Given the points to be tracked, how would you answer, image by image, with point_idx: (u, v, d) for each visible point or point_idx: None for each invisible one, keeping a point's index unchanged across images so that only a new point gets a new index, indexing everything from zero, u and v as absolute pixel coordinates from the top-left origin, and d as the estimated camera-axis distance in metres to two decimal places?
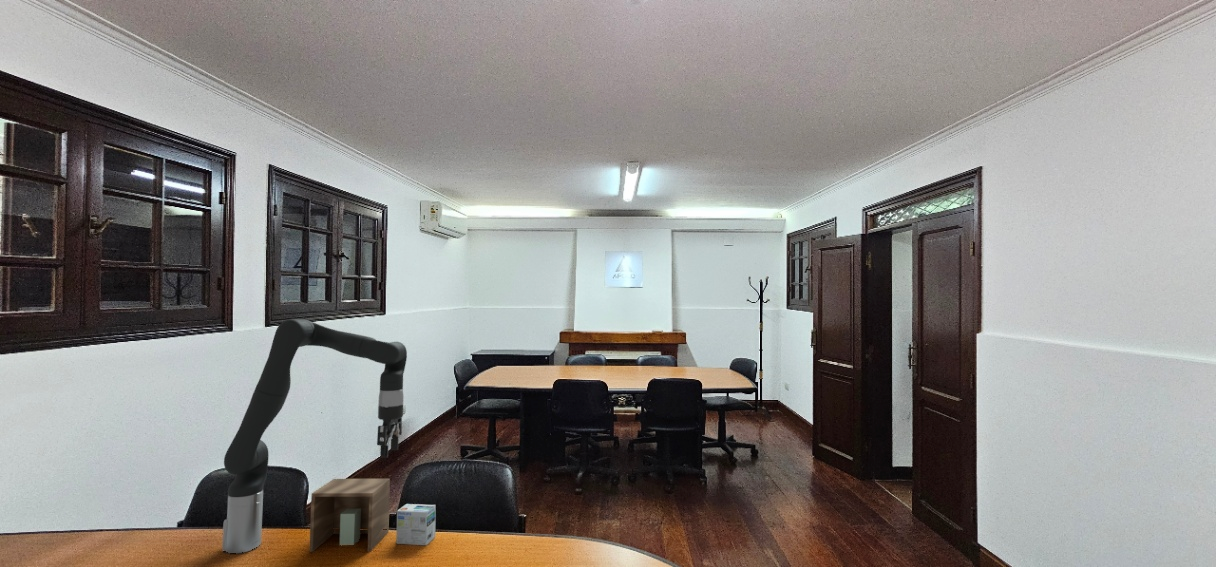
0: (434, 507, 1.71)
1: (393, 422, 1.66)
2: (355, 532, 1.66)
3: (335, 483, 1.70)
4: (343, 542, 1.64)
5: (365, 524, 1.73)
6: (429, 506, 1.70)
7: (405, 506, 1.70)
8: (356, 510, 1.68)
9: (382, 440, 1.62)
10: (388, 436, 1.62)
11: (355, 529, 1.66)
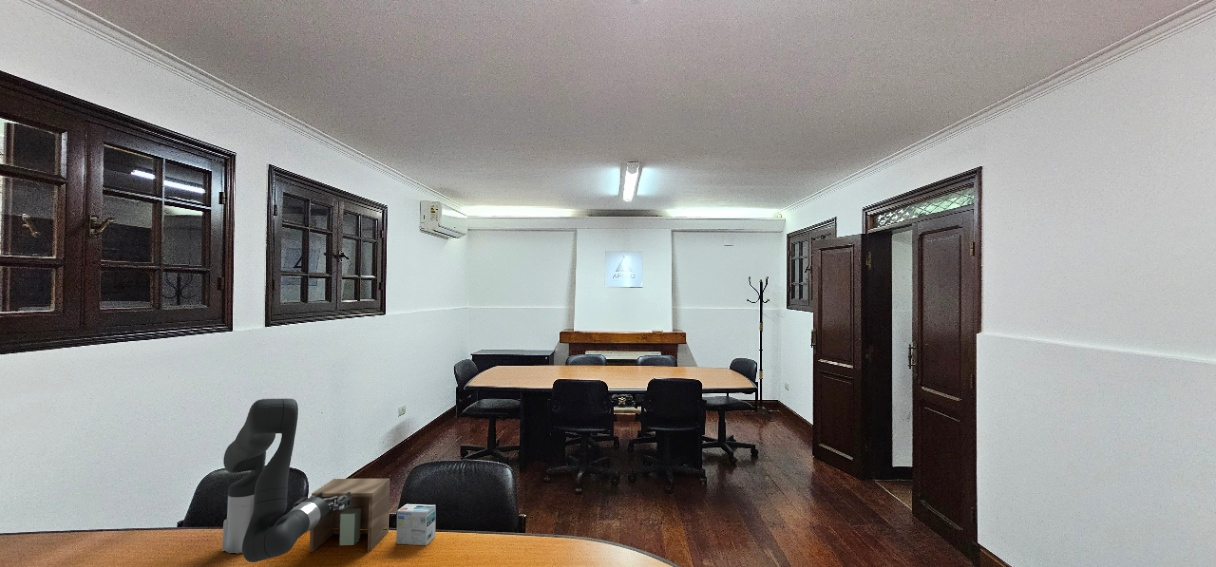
0: (434, 507, 1.71)
1: None
2: (355, 532, 1.66)
3: (335, 483, 1.70)
4: (343, 542, 1.64)
5: (365, 524, 1.73)
6: (429, 506, 1.70)
7: (405, 506, 1.70)
8: (356, 510, 1.68)
9: None
10: None
11: (355, 529, 1.66)
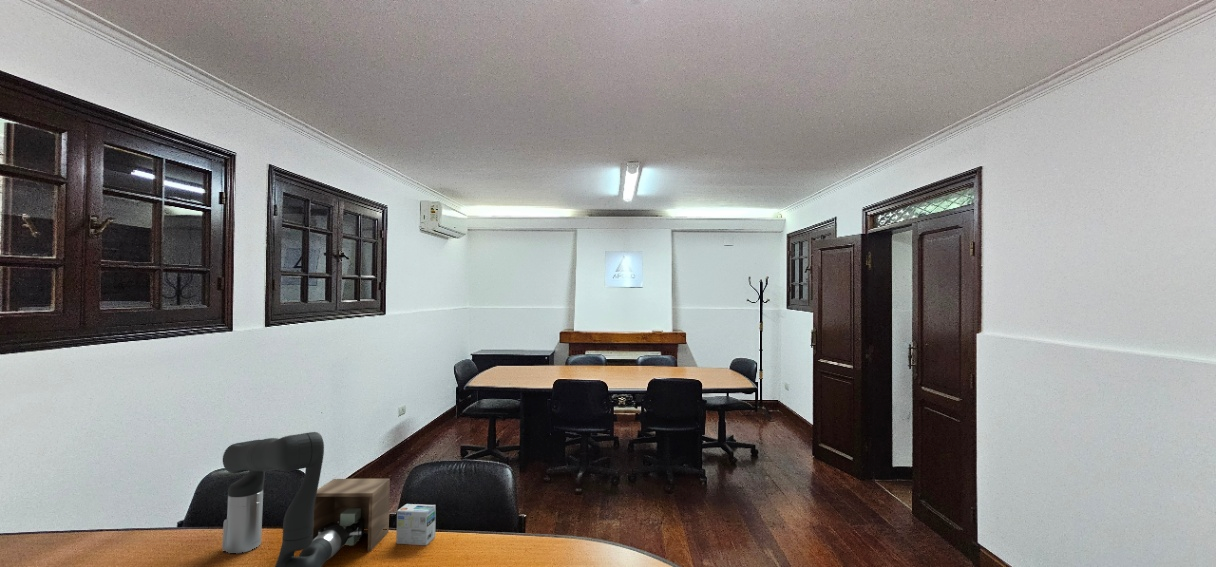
0: (434, 507, 1.71)
1: None
2: None
3: (335, 483, 1.70)
4: None
5: (365, 524, 1.73)
6: (429, 506, 1.70)
7: (405, 506, 1.70)
8: (356, 510, 1.68)
9: None
10: None
11: None
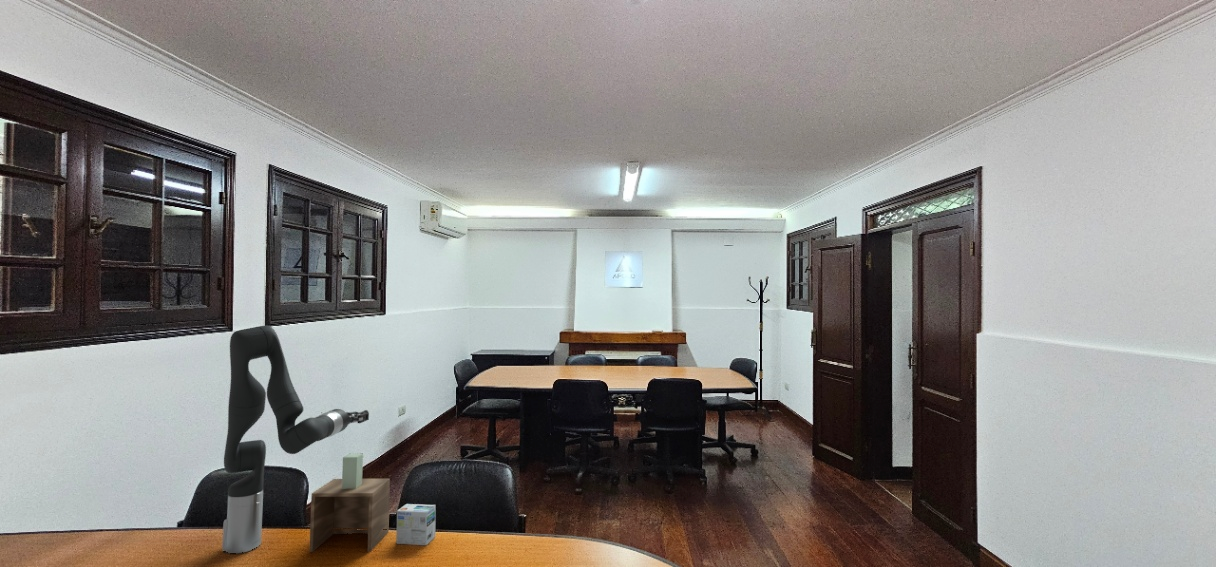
0: (434, 507, 1.71)
1: None
2: (358, 476, 1.67)
3: (335, 483, 1.70)
4: (345, 485, 1.65)
5: (365, 524, 1.73)
6: (429, 506, 1.70)
7: (405, 506, 1.70)
8: (358, 454, 1.69)
9: None
10: None
11: (357, 472, 1.67)
